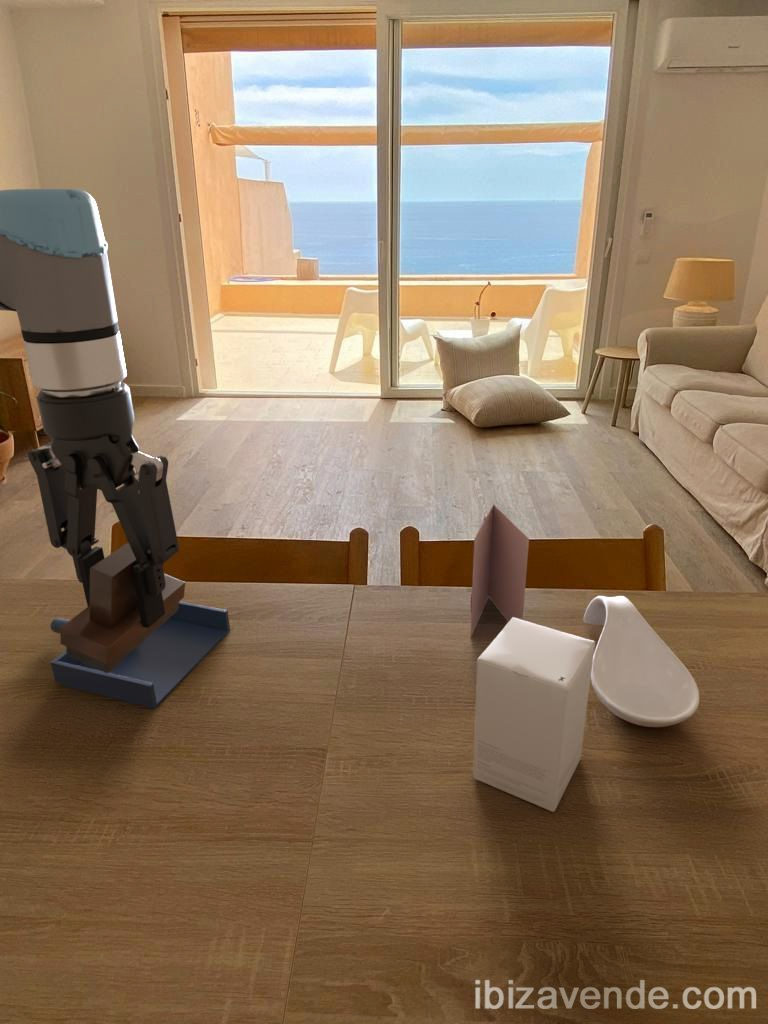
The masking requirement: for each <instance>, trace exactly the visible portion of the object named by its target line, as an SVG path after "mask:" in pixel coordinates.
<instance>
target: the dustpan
mask: <svg viewBox="0 0 768 1024" xmlns="http://www.w3.org/2000/svg"><path fill="white" fill-rule="evenodd" d="M70 620H71V619H66V618H61V617H56V618H54V619H53V620H52V621H51V622H50V630H51V631H52V632H53V633H55V634H60V627H62V626H63V625H64V624H66V623H67V622H68V621H70ZM230 631H231V626H230V619H229V610H228V609H223V608H217V607H212V606H207V605H201V604H196V603H191V602H185V601H181V600H180V601H179V608H178V611H177V612H175V613H174V614H173V615H172V616H171V617H170V618H169V619H168V620H166V621H165V622H164V623H163V624H162V625H161V626H160V627H159V628H158V629H156V630H155V631H154V632H153V633H152V634H151V635H150V636H149V637H147V638H146V639H145V640H144V641H143V642H142V643H141V644H140V645H138V646H137V647H136V648H135V649H134V650H133V651H132V652H131V653H130V654H128V655H127V656H126V657H125V658H124V659H123V660H122V661H121V662H119V663H118V664H117V665H116V666H115V667H114V668H113V669H112V670H111V671H109V672H108V673H105V672H103V671H100V670H98V669H96V668H94V667H91V666H89V665H87V664H85V663H82V662H80V661H78V660H76V659H73V658H71V657H69V656H67V650H65V651H63V652H61V654H59V655H58V656H57V657H55V658H54V659H52V661H50V667H51V670H52V675H53V678H54V682H55V683H58V685H59V686H62V687H66V688H70V689H73V690H78V691H82V692H86V693H90V694H94V695H97V696H101V697H106V698H110V699H113V700H118V701H122V702H125V703H129V704H134V705H138V706H142V707H146V708H149V709H154V710H155V709H156V708H157V707H158V706H159V705H160V704H161V703H162V702H163V701H164V700H165V699H166V698H167V697H168V696H169V695H170V693H171V692H172V691H173V690H175V688H176V687H177V686H179V684H180V683H182V681H183V680H184V679H185V678H186V677H187V676H188V675H189V674H190V673H191V672H192V671H193V670H194V669H195V668H196V667H197V666H198V665H199V664H200V663H201V661H203V660H204V659H205V657H206V656H207V655H208V654H209V653H210V652H211V651H212V650H213V649H214V648H215V647H216V646H217V645H218V644H219V643H220V642H221V641H222V640H223V639H224V637H225V636H226V635H227V634H228V633H229V632H230Z"/></svg>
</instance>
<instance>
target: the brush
mask: <svg viewBox="0 0 768 1024" xmlns="http://www.w3.org/2000/svg"><path fill="white" fill-rule="evenodd" d="M148 551H149V550H148ZM136 564H137V560H136V558H135V556H134V553H133V551H132V549H131V547H130V544H129V542H128V541H127V542H126V543H125V544H123V545H122V546H120V547H119V548H118V549H116V550H115V551H113V552H112V553H110V554H109V555H107V556H106V557H104V559H103V560H101V561H100V562H98V563H97V564H95V565H94V566H92V567H91V568H90V606H87V607H86V608H84V609H83V610H82V611H80V612H79V613H78V614H76V615H75V616H74V617H72V618H71V619H69V620H70V621H68V622H67V623H66V624H64V625H63V626H62V627H60V633H59V634H60V645H63V646H64V647H65V648H66V650H67V656H69V657H71V658H73V659H76V660H78V661H80V662H82V663H85V664H87V665H89V666H91V667H94V668H96V669H98V670H100V671H103V672H105V673H108V672H109V671H111V670H112V669H113V668H114V667H115V666H116V665H117V664H118V663H119V662H121V661H122V660H123V659H124V658H125V657H126V656H127V655H128V654H130V653H131V652H132V651H133V650H134V649H135V648H136V647H137V646H138V645H140V644H141V643H142V642H143V641H144V640H145V639H146V638H147V637H149V636H150V635H151V634H152V633H153V632H154V631H155V630H156V629H158V628H159V627H160V626H161V625H162V624H163V623H164V622H165V621H166V620H168V619H169V618H170V617H171V616H172V615H173V614H174V613H175V612H177V611H178V608H179V601H181V600H183V599H184V598H185V591H186V582H185V581H183V580H180V579H179V578H175V577H173V576H171V575H168V574H166V573H164V577H165V583H166V586H165V589H164V590H163V591H162V597H163V603H164V609H165V614H164V615H163V616H162V617H161V618H160V619H158V620H157V621H156V622H155V623H154V624H153V625H152V626H150V627H149V628H146V627H142V623H141V618H140V612H139V607H138V602H137V596H136V591H135V586H134V580H133V575H132V570H131V568H132V567H133V566H134V565H136ZM162 565H163V566H164V563H163V564H162ZM66 650H65V651H66Z"/></svg>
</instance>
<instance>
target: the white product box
mask: <svg viewBox="0 0 768 1024" xmlns="http://www.w3.org/2000/svg"><path fill="white" fill-rule="evenodd" d="M595 646H596V640H592V639H588V638H585V637H581V636H578V635H575V634H571V633H568V632H564V631H561V630H557V629H555V628H551V627H547V626H544V625H541V624H537V623H535V622H531V621H527V620H524V619H523V620H521V619H518V618H515V617H512V619H511V620H510V621H509V622H508V621H507V623H506V624H505V626H503V628H502V629H501V631H500V632H499V633H498V634H497V636H496V637H495V638H494V639H493V640H492V641H491V642H490V644H489V645H488V646H487V647H486V648H485V650H484V651H483V652H482V653H481V654H480V655H479V657H478V658H477V659H476V686H475V689H476V690H475V711H474V712H475V714H474V738H473V764H472V778H473V779H474V780H477V781H479V782H482V783H484V784H487V785H489V786H490V787H493V788H495V789H498V790H499V791H503V792H505V793H507V794H509V795H512V796H514V797H517V798H519V799H520V800H521V799H522V800H524V801H526V802H528V803H530V804H533V805H534V806H535V805H536V806H538V807H540V808H543V809H545V810H547V811H549V812H552V813H554V812H555V811H556V810H557V807H558V805H559V803H560V802H561V800H562V797H563V796H564V794H565V791H566V790H567V788H568V785H569V783H570V781H571V779H572V777H573V775H574V773H575V771H576V769H577V767H578V765H579V763H580V760H581V758H582V751H583V743H584V735H585V727H586V719H587V712H588V711H587V709H588V703H589V702H588V701H589V693H590V687H591V686H590V685H591V671H592V663H593V656H594V652H595V648H596V647H595Z"/></svg>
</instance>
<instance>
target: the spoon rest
mask: <svg viewBox="0 0 768 1024" xmlns="http://www.w3.org/2000/svg"><path fill="white" fill-rule="evenodd" d="M582 620H583V623H584V624H585V625H590V626H603V628H602V631H601V634H600V636H599V639H598V641H597V644H596V647H595V648H594V655H593V663H592V671H591V678H590V682H591V684H592V689H593V690H594V693H595V695H596V696H597V698H598V700H599V701H600V702H601V703H602V705H603V706H604V707H605V708H606V709H607V710H608V711H610V712H611V713H612V714H613V715H615V716H617V717H618V718H619V719H622V720H623V721H626V722H628V723H631V724H634V725H637V726H640V727H641V726H642V727H647V728H665V727H669V726H673V725H677V724H680V723H682V722H684V721H686V720H688V719H689V718H690V717H692V716H693V715H694V714H695V713H696V712H697V710H698V708H699V705H700V691H699V688H698V685H697V682H696V680H695V679H694V676H692V675H693V674H691V671H689V670H688V668H687V667H686V665H684V663H683V662H682V661H681V660H680V658H679V657H678V656H677V655H676V654H675V652H674V651H673V650H672V649H671V648H670V647H669V646H668V644H666V643H665V642H664V640H663V639H662V638H661V637H660V635H658V633H657V632H656V631H655V630H654V629H653V628H652V627H651V625H650V624H649V623H648V622H647V621H646V619H645V618H644V616H642V614H641V613H640V612H639V610H638V609H637V607H636V606H635V605H634V603H632V601H631V600H630V599H628V597H626V596H624V595H617V596H605V595H597V596H595V597H594V598H593V599H592V600H591V601H590V603H589V604H588V605H587V608H586V610H585V613H584V615H583V619H582Z"/></svg>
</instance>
